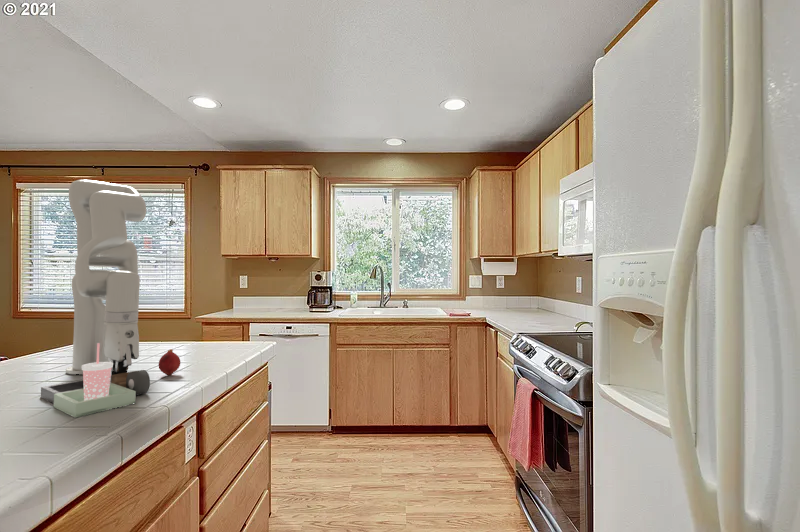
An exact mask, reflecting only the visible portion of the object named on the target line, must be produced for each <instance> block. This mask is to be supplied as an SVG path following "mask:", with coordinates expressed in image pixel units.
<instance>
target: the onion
mask: <svg viewBox="0 0 800 532" xmlns="http://www.w3.org/2000/svg"><path fill="white" fill-rule="evenodd" d="M173 351H174V350H173V349H172V348H170V349H169V350H168V351H167V352H165V353H164V354H162V356H161V357H160V359H159V360H158V369H159V371H161V373H163V374H165V375H166V376H172V375H173V374H174V373H175V372H176V371H178V369H179V368H180V367H181V359H180V357H179V355H177V353H175V352H173Z"/></svg>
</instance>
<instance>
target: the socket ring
mask: <svg viewBox="0 0 800 532" xmlns="http://www.w3.org/2000/svg"><path fill="white" fill-rule="evenodd" d="M78 389H84V385H83V379H80V380H75V381H67V382H63V383H62V382H61V383H56V384H51V385H45V386H41V387H40V398H41V399H43V400H46V401H48V402H50V403H52V404H54V394H57V393H62V392H68V391H73V390H78Z"/></svg>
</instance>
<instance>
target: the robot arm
mask: <svg viewBox="0 0 800 532" xmlns="http://www.w3.org/2000/svg"><path fill="white" fill-rule="evenodd" d="M68 201H69V205H70V209H71V211H72V214H73V217H74V219H75V223H76V247H77V248H76V249H77V250H76V251H77V253H76V254H77V255H76V258H75V263H74V270H75V271H74V275H73V277H72V279H71V290H72V297H73V308H74V309H73V311H74V312H73V313H74V314H73V341H72V343H73V344H72V365H71V366H69V367H66V369H65V374H68V375H76V374H79V375H83V370H82V365H84V364H88V363H94V362H97V343H100V348H99V362H112V363H113V367H112V369H111V378H110V384H111V383H112V375H115V374H121V373H127V372H128V370H129V367H130V366H132V365H133V363H132V360H138V359H139V356H140V336H139V335H140V333H139V325H138V323H139V305H140V303H139V302H140V301H139V300H140V282H141V280H140V279H141V278H140V275H139V270H138V269H139V268H138V267H139V266H138V263H139V262H138V251H137V247H136V245H135V243H134V242H133V241H131V240H129V239H128V232H127V231H128V230H127V224H126V222H127V221H129V222H138V223H139V222H142V221H143V220H144V219H145V217H146V214H147V206H146V205H147V204H146V201H145V199H144V198H143V196H142V195H141V194H140V192H138V191H137V190H136V189H135V188H134V187H133V186H129V185H122V184H118V183H112V182H111V183H110V182H106V181H99V180H92V179H77V180H74V181H72V182H71V184H70V185H69V187H68ZM90 267H93V268H94V267H96V268H97V267H99V268H100V267H101V268H117V269H118V270H113V269H91V268H90ZM104 301H105V304H104Z"/></svg>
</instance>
